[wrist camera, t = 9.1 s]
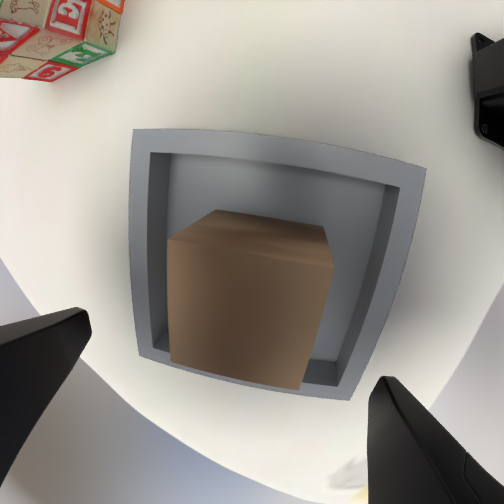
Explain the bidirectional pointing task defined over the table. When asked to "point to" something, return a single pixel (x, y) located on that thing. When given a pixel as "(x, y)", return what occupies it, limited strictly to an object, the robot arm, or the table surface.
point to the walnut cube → (247, 296)
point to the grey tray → (280, 207)
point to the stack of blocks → (55, 36)
